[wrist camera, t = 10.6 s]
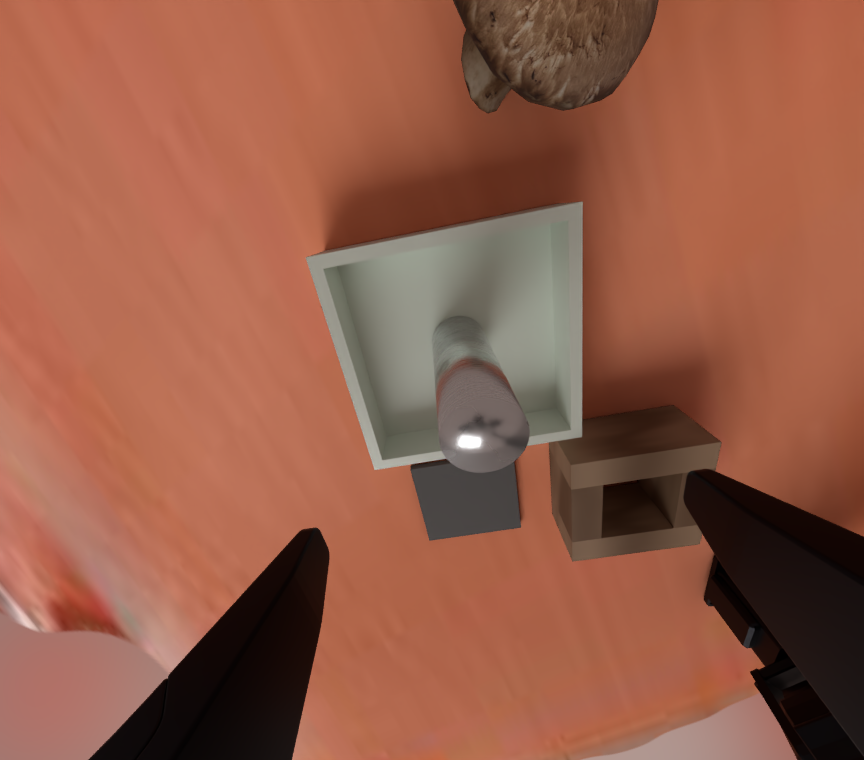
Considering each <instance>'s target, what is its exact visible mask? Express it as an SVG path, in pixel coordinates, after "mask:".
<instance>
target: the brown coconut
mask: <svg viewBox="0 0 864 760" xmlns="http://www.w3.org/2000/svg"><path fill="white" fill-rule="evenodd" d="M453 1H454V4H455V6H456V8H457V10H458V13H459V15H460V17H461V19H462V21H463V24H464V26H465V28H466V32H465V34H464V38H463V47H462V56H461V61H462V67H463V72H464V78H465V82H466V85H467V88H468V91H469V94H470V97H471V99H472V100H473V101H474V102H475V104H476V105H477V106H478V107H479V108H480V109H481V110H483V111H485V112H486V113H491V112H494V111H497V109H498V107H499V106H500V104H501V102H502V101H503V99H504V98H505V96H506V94H507V93H508V92H509V91H510V90H511V89H513V90H514V91H515V92H516V93H518V94H519V95H520V96H522V97H523V98H524V99H526V100H527V101H528V102H532V103H535V104H539V105H543V106H547V107H551V108H555V109H559V110H569V109H574V108H577V107H581V106H584V105H587V104H590V103H594V102H597V101H600V100H602V99H604V98H605V97H607V96H609V95H610V94H612V93H613V92H614V91H615V89H616V88H617V87H618V85H619V84H620V83H621V82H622V80H623V79H624V78H625V76H626V75H627V73H628V72H629V70H630V68H631V67H632V65H633V64H634V62H635V60H636V59H637V57H638V55H639V54H640V52H641V50H642V48H643V46H644V45H645V43H646V41H647V39H648V37H649V35H650V32H651V28H652V25H653V22H654V19H655V15H656V10H657V5H658V0H453Z"/></svg>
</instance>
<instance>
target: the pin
mask: <svg viewBox="0 0 864 760" xmlns="http://www.w3.org/2000/svg"><path fill="white" fill-rule="evenodd" d="M432 350H433V364H434V378H435V392H436V406H437V420H438V434H439V444H440V448H441V451H442V453H443V454H444V456H445V457H446V459H447V460H448V461H449V462H450V463H452V464H453V465H455V466H456V467H458V468H460V469H462V470H465V471H469V472H476V473H485V472H492V471H496V470H499V469H502V468H504V467H506V466H508V465H510V464H511V463H513V462H514V461H515V460H516V459H517V458H519V456H520V455H521V454H522V453H523V451H524V450H525V448H526V446H527V444H528V441H529V436H530V429H529V424H528V421H527V419H526V417H525V415H524V413H523V411H522V408H521V406H520V404H519V402H518V400H517V398H516V396H515V394H514V392H513V390H512V388H511V386H510V384H509V382H508V380H507V378H506V376H505V374H504V372H503V370H502V368H501V366H500V363H499V361H498V359H497V357H496V355H495V353H494V351H493V349H492V347H491V345H490V343H489V341H488V339H487V337H486V335H485V333H484V331H483V329H482V327H481V326H480V324H479V323H478V322H476V321H475V320H474V319H472V318H469V317H466V316H454V317H450V318H448V319H446V320H444V321H443V322H441V323H440V324H439V325H438V327H437V328H436V329H435V331H434V334H433V337H432Z"/></svg>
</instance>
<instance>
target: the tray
mask: <svg viewBox="0 0 864 760" xmlns="http://www.w3.org/2000/svg"><path fill="white" fill-rule="evenodd" d="M306 260H307V263H308V266H309V269H310V272H311V275H312V278H313V281H314V284H315V288H316V291H317V294H318V297H319V300H320V303H321V306H322V309H323V312H324V315H325V318H326V321H327V324H328V328H329V331H330V334H331V337H332V340H333V343H334V346H335V349H336V352H337V355H338V358H339V361H340V364H341V368H342V371H343V374H344V377H345V380H346V383H347V386H348V389H349V392H350V395H351V398H352V401H353V404H354V408H355V411H356V414H357V417H358V420H359V423H360V426H361V429H362V432H363V435H364V438H365V441H366V444H367V448H368V451H369V454H370V457H371V460H372V463H373V466H374V469H375V470H378V469H384V468H390V467H397V466H403V465H409V464H416V463H422V462H428V461H435V460H441V459H446V457H445V456H444V454H443V453H442V451H441V448H440V444H439V434H438V420H437V406H436V392H435V378H434V364H433V350H432V337H433V334H434V331H435V329H436V328H437V327H438V325H439V324H440V323H441V322H443V321H444V320H446V319H448V318H450V317H454V316H466V317H469V318H472V319H474V320H475V321H476V322H478V323H479V324H480V326H481V327H482V329H483V331H484V333H485V335H486V337H487V339H488V341H489V343H490V345H491V347H492V349H493V351H494V353H495V355H496V357H497V359H498V361H499V363H500V366H501V368H502V370H503V372H504V374H505V376H506V378H507V380H508V382H509V384H510V386H511V388H512V390H513V392H514V394H515V396H516V398H517V400H518V402H519V404H520V406H521V408H522V411H523V413H524V415H525V417H526V419H527V421H528V424H529V429H530V436H529V441H528V444H527V446H529V445H535V444H542V443H548V442H554V441H560V440H567V439H573V438H579V437H582V261H583V202H571V203H558V204H553V205H548V206H543V207H538V208H533V209H528V210H523V211H519V212H514V213H509V214H504V215H499V216H494V217H489V218H484V219H479V220H474V221H469V222H464V223H459V224H454V225H449V226H444V227H440V228H435V229H430V230H425V231H420V232H415V233H410V234H405V235H400V236H395V237H390V238H385V239H380V240H375V241H370V242H365V243H361V244H356V245H351V246H346V247H341V248H336V249H331V250H326V251H322V252H319V253H317V254H314V255H311V256H308V257H306Z"/></svg>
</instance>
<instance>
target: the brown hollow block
mask: <svg viewBox="0 0 864 760" xmlns="http://www.w3.org/2000/svg"><path fill="white" fill-rule="evenodd" d="M720 447H721V441H720V440H718V439H717V438H716V437H714V436H713V435H712V434H710V433H709V432H708V431H707V430H705V429H704V428H703V427H701V426H700V425H699V424H697V423H696V422H695V421H694V420H692V419H691V418H690V417H688V416H687V415H686V414H685V413H683V412H682V411H681V410H679V409H678V408H677V407H675V406H674V405H671V406H665V407H659V408H652V409H646V410H640V411H634V412H628V413H622V414H615V415H609V416H603V417H597V418H591V419H584V420H582V437H579V438H573V439H567V440H560V441H554V442H549V455H550V476H551V497H552V514H553V516H554V519H555V521H556V524H557V526H558V528H559V531H560V533H561V535H562V538H563V540H564V543H565V545H566V547H567V550H568V552H569V554H570V557H571V559H572V562H573V561H580V560H587V559H595V558H602V557H609V556H617V555H624V554H631V553H639V552H646V551H653V550H661V549H668V548H675V547H683V546H690V545H697V544H700V541H701V536H702V532H701V531H700V529H699V527H698V526H697V524H696V523H695V521H694V519H693V518H692V516H691V514H690V513H689V511H688V510H687V508H686V506H685V503H684V499H683V494H684V489H685V483H686V477H687V474H688V473H689V472H690V471H693V470H700V469H711V470H713V471H715V470H716V466H717V461H718V456H719V451H720ZM633 480H638V483H634V484H628V485H621V486H614V487H607V488H603V485H607V484H613V483H620V482H627V481H633Z"/></svg>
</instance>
